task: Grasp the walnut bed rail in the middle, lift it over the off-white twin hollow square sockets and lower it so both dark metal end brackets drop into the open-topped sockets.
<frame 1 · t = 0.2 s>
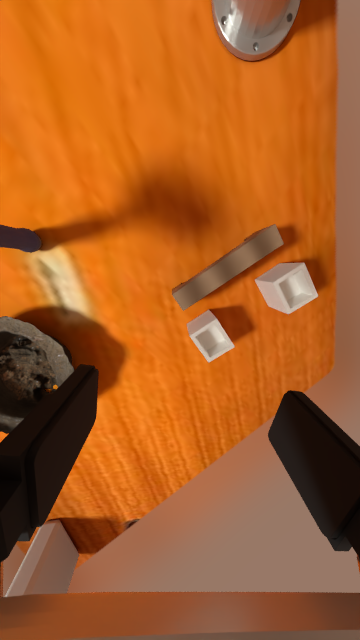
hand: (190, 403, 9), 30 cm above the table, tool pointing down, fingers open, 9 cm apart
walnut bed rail: (216, 269, 36), on the table
rubber mallet: (35, 242, 33), on the table
twin hollow square sockets: (238, 307, 39), on the table
stone bowl: (38, 360, 41), on the table
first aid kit: (61, 535, 61), on the table
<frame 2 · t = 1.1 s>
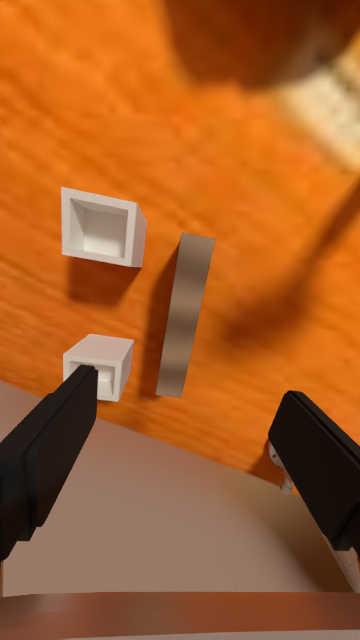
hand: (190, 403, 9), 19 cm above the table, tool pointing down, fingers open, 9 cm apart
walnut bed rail: (179, 312, 27), on the table
twin hollow square sockets: (114, 302, 26), on the table
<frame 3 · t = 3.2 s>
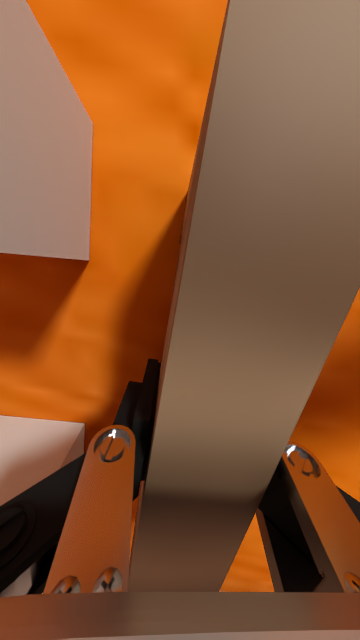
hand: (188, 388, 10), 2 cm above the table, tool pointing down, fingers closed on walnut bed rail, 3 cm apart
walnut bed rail: (185, 366, 12), on the table, touching gripper
twin hollow square sockets: (28, 346, 11), on the table
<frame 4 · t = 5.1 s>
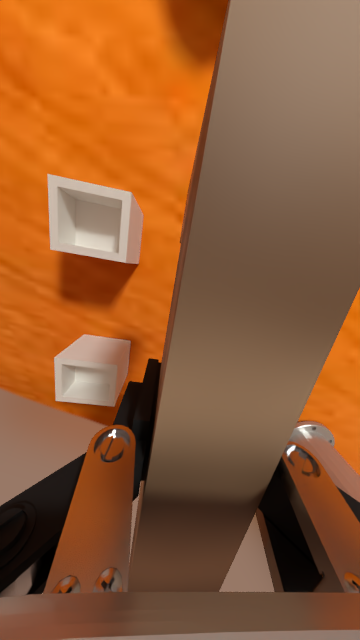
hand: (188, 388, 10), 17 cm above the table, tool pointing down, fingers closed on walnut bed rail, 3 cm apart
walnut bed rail: (185, 366, 12), point 15 cm above the table, touching gripper
twin hollow square sockets: (110, 301, 25), on the table
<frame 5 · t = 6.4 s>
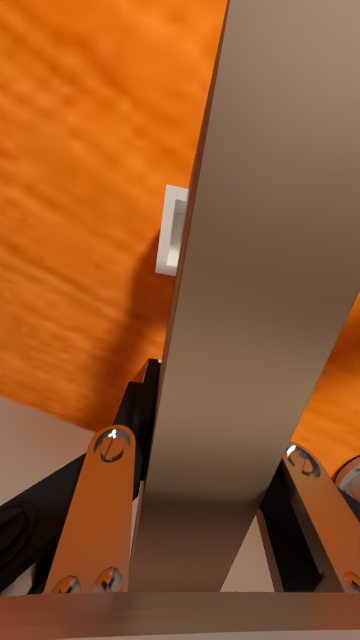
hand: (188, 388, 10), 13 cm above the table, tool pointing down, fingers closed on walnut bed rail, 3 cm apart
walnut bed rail: (185, 366, 12), point 11 cm above the table, touching gripper
twin hollow square sockets: (181, 322, 22), on the table
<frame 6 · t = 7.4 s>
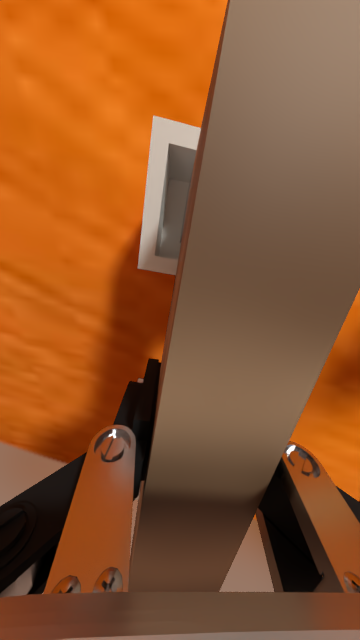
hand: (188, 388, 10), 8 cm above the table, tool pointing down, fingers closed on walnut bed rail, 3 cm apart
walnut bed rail: (185, 365, 12), point 6 cm above the table, touching gripper
twin hollow square sockets: (179, 333, 17), on the table
when the fingers open (8 cm above the table, at t = 7.4 s): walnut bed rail drops 2 cm, resting on twin hollow square sockets.
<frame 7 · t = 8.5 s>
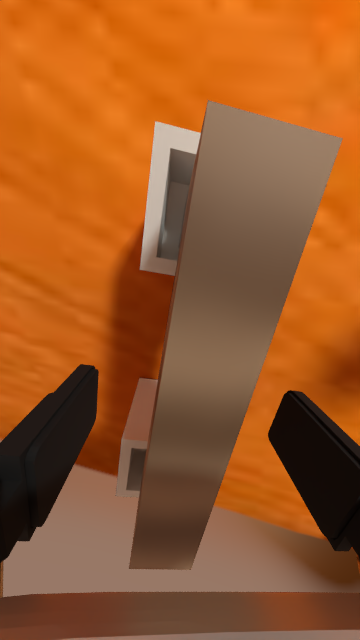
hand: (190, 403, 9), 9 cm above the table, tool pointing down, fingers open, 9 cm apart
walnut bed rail: (183, 352, 14), point 4 cm above the table, touching twin hollow square sockets
twin hollow square sockets: (180, 333, 17), on the table
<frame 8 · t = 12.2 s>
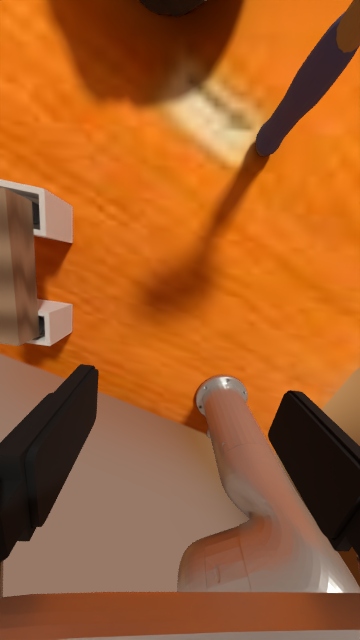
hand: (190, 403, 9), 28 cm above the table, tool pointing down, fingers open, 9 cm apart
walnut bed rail: (38, 272, 29), point 4 cm above the table, touching twin hollow square sockets
rubber mallet: (262, 146, 29), on the table
twin hollow square sockets: (53, 271, 33), on the table
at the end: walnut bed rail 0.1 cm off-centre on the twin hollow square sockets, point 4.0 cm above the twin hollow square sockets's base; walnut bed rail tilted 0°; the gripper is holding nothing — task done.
